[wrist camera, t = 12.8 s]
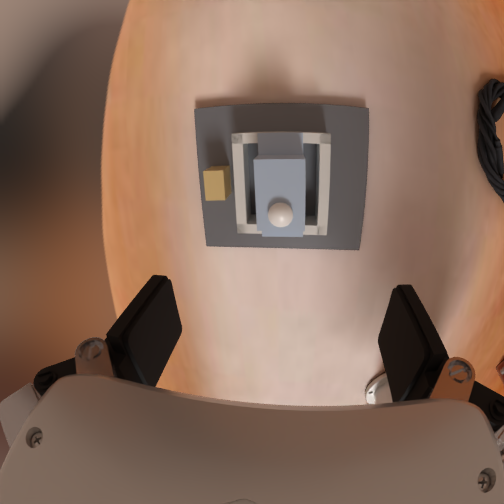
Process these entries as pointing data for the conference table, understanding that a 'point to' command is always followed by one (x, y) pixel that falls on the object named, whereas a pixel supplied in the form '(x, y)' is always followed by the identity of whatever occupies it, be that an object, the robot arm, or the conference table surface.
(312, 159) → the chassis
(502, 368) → the orange electrical enclosure
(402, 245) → the conference table surface
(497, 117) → the cable
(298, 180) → the block
